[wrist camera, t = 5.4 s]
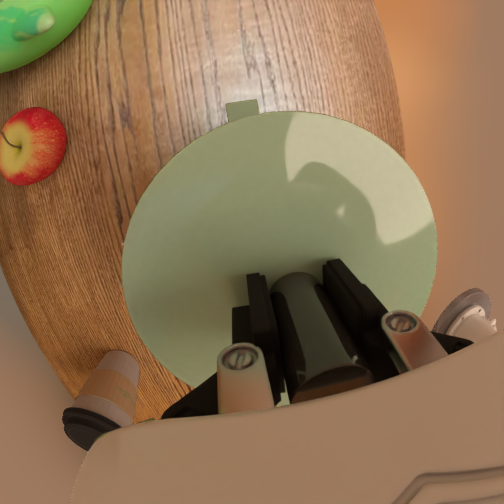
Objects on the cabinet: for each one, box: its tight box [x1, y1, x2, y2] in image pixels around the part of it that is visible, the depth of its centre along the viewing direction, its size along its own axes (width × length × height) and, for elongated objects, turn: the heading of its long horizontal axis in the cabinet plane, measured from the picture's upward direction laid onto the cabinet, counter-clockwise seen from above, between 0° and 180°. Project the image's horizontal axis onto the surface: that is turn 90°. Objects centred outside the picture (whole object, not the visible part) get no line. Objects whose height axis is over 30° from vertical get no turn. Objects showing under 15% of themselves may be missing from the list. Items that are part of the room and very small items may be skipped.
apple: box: [0, 107, 67, 186], centre depth 20 cm, size 8×8×10 cm
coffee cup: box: [62, 350, 140, 451], centre depth 30 cm, size 9×9×15 cm
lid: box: [121, 111, 438, 406], centre depth 10 cm, size 15×15×7 cm
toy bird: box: [0, 0, 93, 73], centre depth 12 cm, size 18×17×15 cm
